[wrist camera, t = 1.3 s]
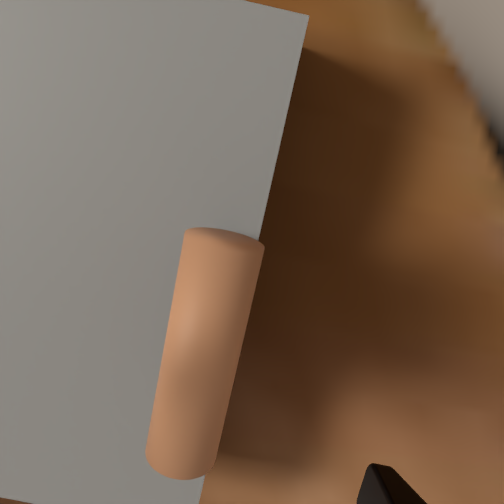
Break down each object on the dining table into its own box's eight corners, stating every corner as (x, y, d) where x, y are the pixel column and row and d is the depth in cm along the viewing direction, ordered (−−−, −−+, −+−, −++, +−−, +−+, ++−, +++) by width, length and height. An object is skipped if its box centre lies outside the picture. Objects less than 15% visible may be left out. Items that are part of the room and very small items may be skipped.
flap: (195, 525, 19) (174, 646, 15) (-89, 469, 19) (-199, 575, 15) (311, 19, 14) (332, -30, 10) (-80, -71, 14) (-250, -168, 9)
